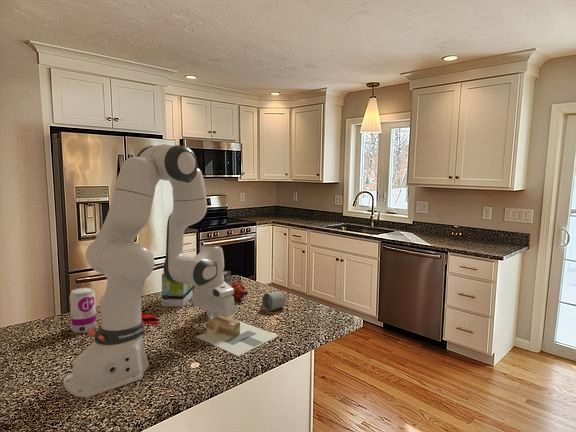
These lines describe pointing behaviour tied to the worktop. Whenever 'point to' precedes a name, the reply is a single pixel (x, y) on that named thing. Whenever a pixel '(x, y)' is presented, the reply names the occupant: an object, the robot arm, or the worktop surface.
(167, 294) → the tea box
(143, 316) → the cloth
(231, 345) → the sage board
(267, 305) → the ceramic mug
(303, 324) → the worktop surface
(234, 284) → the dragon fruit
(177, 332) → the worktop surface
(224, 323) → the maple T block
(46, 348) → the worktop surface
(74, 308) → the supplement can
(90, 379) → the robot arm
